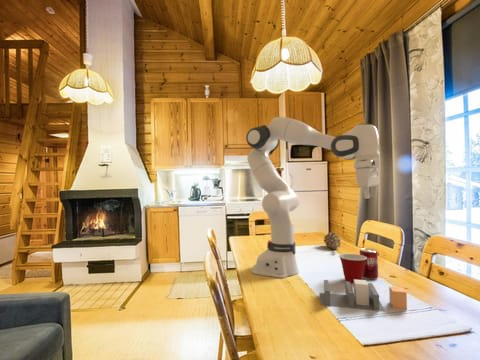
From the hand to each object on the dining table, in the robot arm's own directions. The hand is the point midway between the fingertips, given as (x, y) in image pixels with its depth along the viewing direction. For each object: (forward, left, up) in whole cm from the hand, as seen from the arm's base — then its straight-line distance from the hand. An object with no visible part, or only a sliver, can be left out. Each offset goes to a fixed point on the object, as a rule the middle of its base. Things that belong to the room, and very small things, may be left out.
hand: (370, 197), depth 106 cm
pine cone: (-10, +56, -37) cm, 67 cm away
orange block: (+4, -18, -36) cm, 41 cm away
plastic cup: (-7, +2, -37) cm, 37 cm away
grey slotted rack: (-11, -18, -36) cm, 42 cm away
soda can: (+1, +12, -37) cm, 38 cm away
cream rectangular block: (-7, -18, -35) cm, 40 cm away
